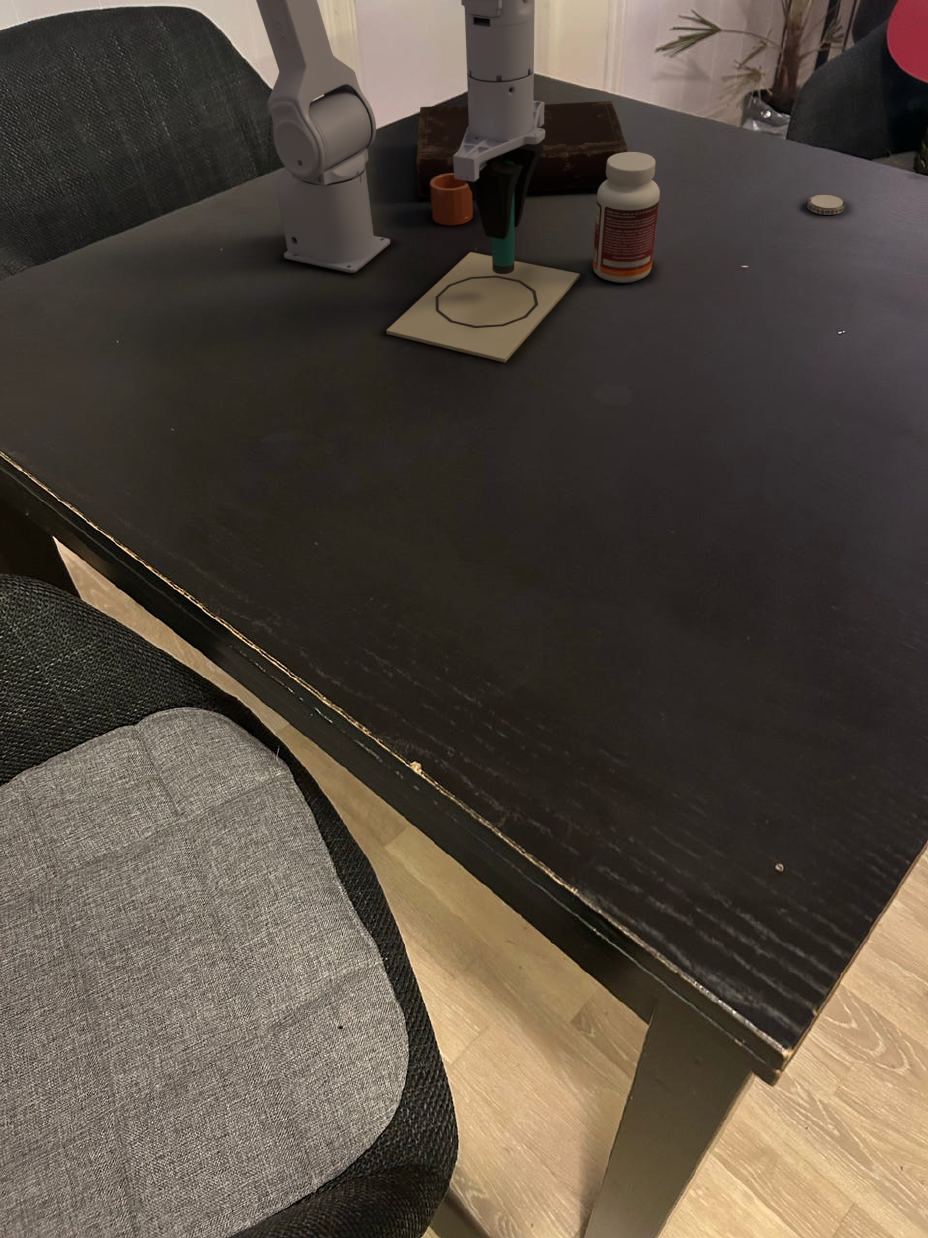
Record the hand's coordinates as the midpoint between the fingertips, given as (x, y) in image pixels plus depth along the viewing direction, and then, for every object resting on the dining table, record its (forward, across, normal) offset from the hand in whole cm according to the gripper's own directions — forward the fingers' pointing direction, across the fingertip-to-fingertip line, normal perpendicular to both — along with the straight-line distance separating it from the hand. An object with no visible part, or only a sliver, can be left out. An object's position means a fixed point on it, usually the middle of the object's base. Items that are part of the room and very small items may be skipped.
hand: (502, 230), depth 85 cm
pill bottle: (+7, +10, -9) cm, 15 cm away
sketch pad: (+7, -2, +1) cm, 7 cm away
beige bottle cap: (+7, +33, -25) cm, 42 cm away
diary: (+7, +31, +13) cm, 35 cm away
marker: (+4, 0, 0) cm, 4 cm away
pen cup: (+7, +15, +14) cm, 22 cm away
